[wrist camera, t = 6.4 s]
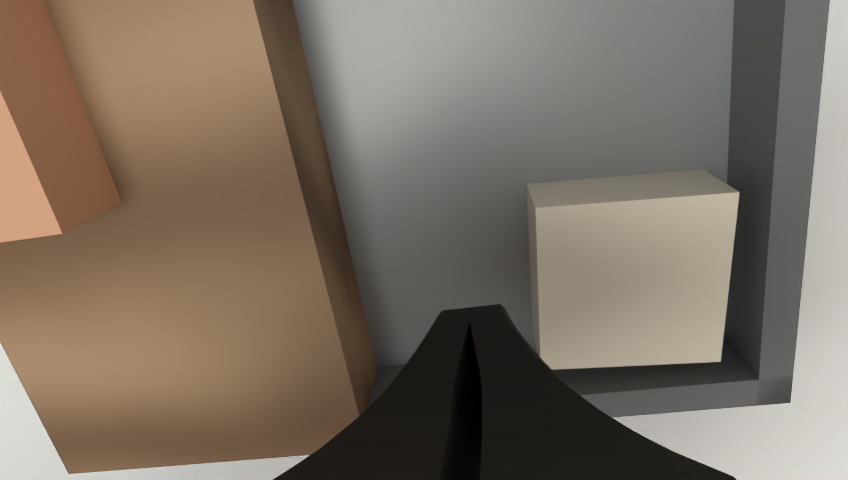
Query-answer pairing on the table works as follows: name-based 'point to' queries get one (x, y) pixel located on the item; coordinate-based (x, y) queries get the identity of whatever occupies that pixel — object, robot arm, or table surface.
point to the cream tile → (630, 268)
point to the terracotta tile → (44, 133)
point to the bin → (567, 158)
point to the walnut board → (192, 250)
